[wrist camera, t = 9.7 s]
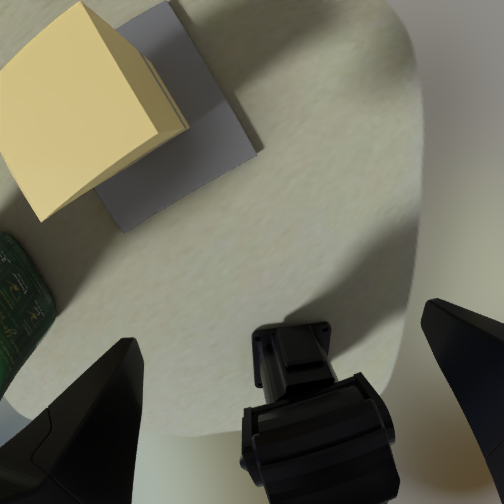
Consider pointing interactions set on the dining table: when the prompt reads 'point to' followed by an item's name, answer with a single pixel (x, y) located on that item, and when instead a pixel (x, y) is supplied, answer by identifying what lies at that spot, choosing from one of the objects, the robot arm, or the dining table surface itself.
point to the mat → (186, 143)
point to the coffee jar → (20, 309)
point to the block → (80, 110)
